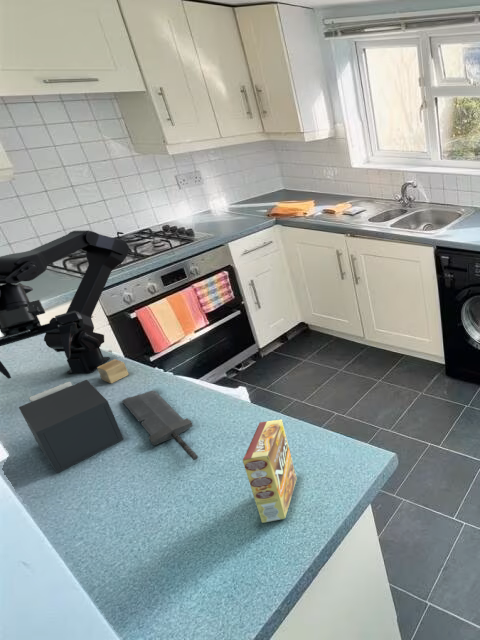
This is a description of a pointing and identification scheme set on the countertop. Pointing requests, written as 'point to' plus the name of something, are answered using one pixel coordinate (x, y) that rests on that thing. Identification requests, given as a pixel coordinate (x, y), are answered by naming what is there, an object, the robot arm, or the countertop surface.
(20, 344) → the countertop surface
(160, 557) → the countertop surface
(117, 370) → the block
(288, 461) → the candy box
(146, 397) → the grey flat handled slab
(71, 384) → the dark grey drawer
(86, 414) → the dark grey drawer box
